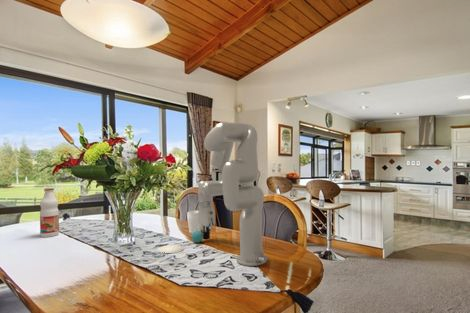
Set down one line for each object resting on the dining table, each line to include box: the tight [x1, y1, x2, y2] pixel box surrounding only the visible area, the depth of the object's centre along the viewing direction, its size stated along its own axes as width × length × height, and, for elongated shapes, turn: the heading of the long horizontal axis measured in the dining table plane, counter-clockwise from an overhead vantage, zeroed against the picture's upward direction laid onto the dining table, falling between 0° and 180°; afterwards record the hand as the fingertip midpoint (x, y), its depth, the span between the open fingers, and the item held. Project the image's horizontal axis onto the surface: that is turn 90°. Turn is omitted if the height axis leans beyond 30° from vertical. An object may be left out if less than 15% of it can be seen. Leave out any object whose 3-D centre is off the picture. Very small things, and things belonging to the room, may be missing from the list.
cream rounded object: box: [156, 244, 185, 254], centre depth 139 cm, size 13×13×1 cm
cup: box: [186, 210, 202, 234], centre depth 171 cm, size 9×9×12 cm
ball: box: [191, 231, 204, 244], centre depth 149 cm, size 6×6×6 cm
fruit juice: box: [39, 187, 60, 238], centre depth 170 cm, size 9×9×28 cm
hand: (206, 238), depth 152 cm, fingers closed
